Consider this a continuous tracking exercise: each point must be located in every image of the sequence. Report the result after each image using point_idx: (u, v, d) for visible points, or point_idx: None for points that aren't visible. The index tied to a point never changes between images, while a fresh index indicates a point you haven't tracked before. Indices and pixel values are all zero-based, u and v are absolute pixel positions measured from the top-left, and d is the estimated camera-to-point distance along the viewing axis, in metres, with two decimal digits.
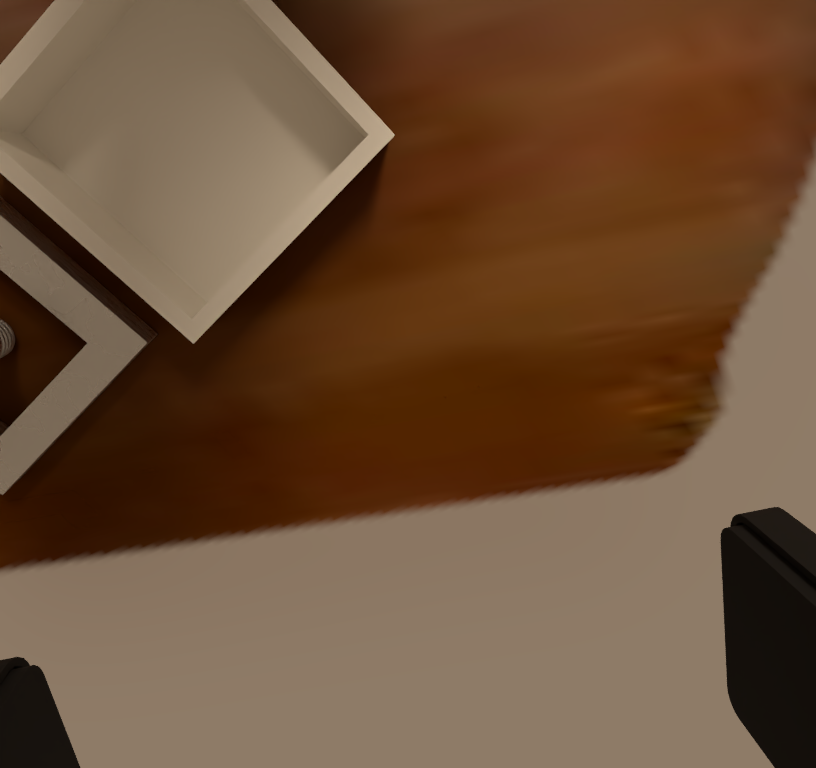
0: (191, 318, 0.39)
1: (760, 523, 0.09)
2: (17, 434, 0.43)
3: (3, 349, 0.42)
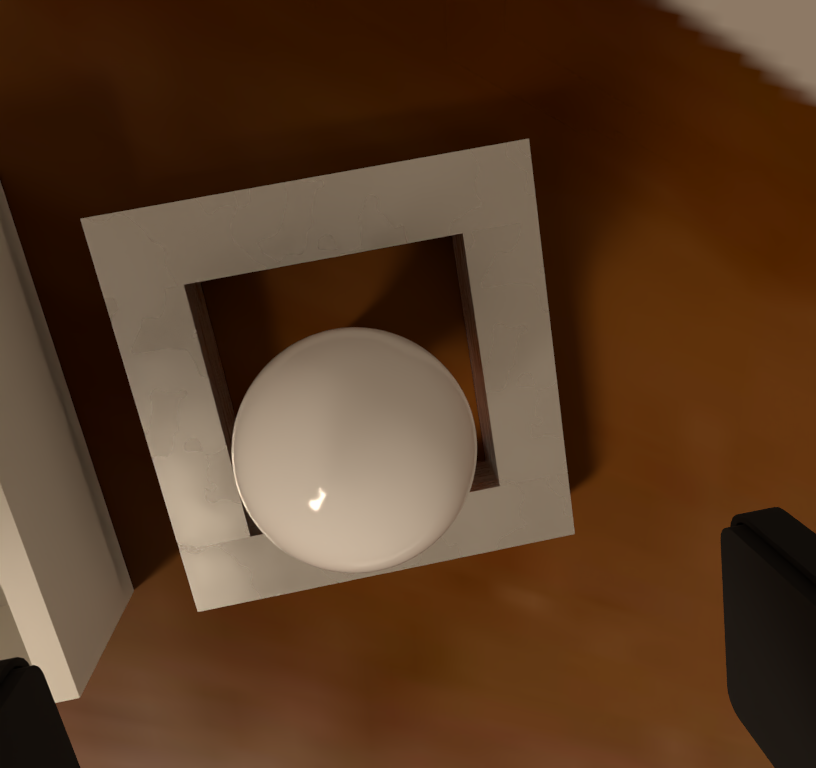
0: None
1: (760, 523, 0.09)
2: (415, 219, 0.22)
3: None
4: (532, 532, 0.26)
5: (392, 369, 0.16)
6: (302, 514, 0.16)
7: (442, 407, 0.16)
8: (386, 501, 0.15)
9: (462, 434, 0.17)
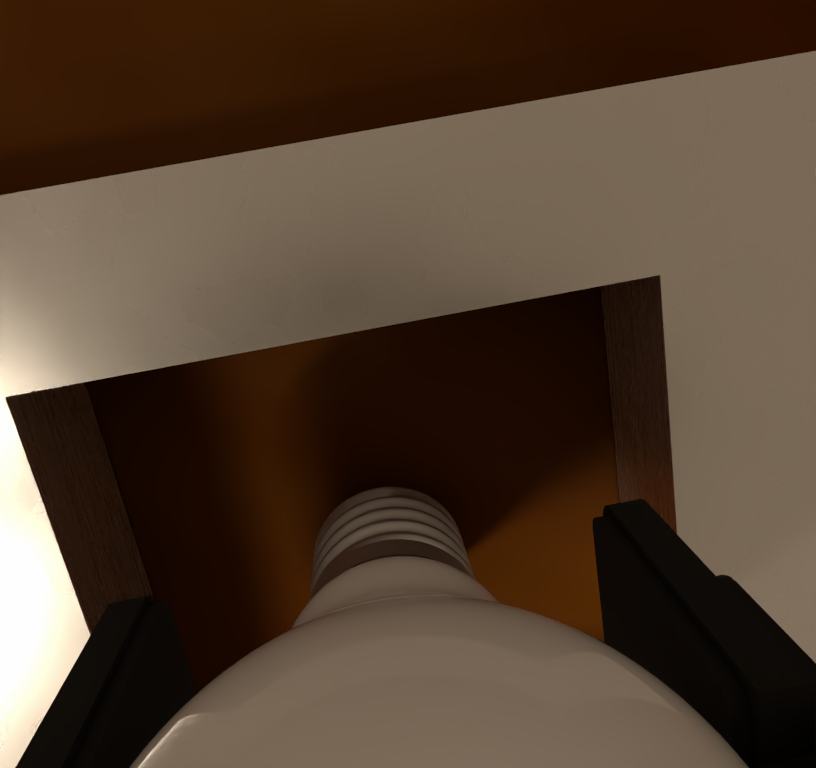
0: None
1: (622, 513, 0.09)
2: (552, 243, 0.09)
3: (347, 540, 0.11)
4: None
5: None
6: None
7: None
8: None
9: None
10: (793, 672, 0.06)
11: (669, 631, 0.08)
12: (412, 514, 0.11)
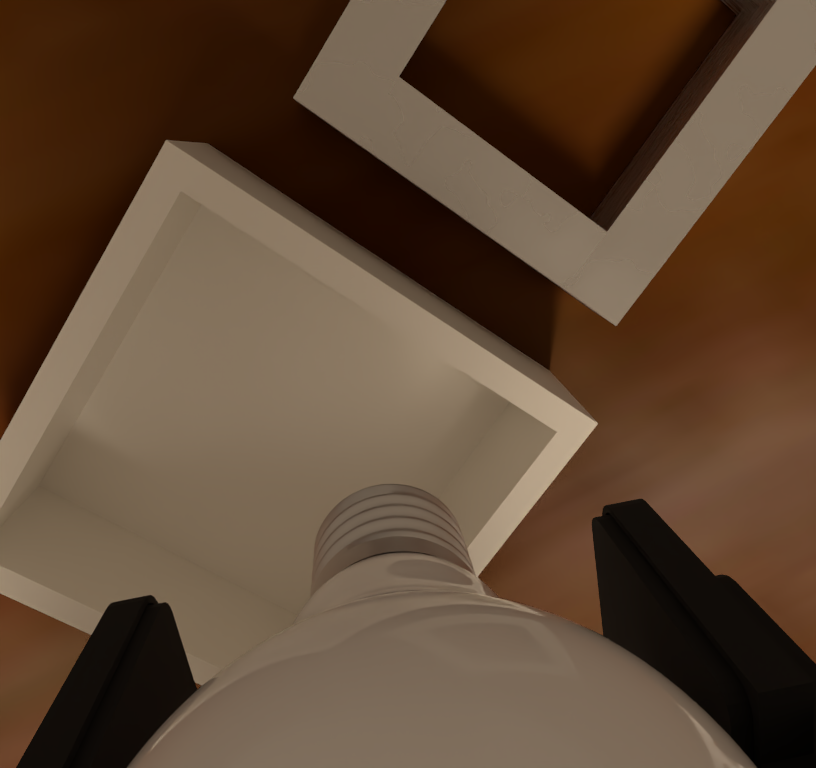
0: (182, 191, 0.20)
1: (621, 513, 0.09)
2: None
3: (348, 537, 0.11)
4: None
5: None
6: None
7: None
8: None
9: None
10: (793, 672, 0.06)
11: (668, 631, 0.08)
12: (413, 511, 0.11)
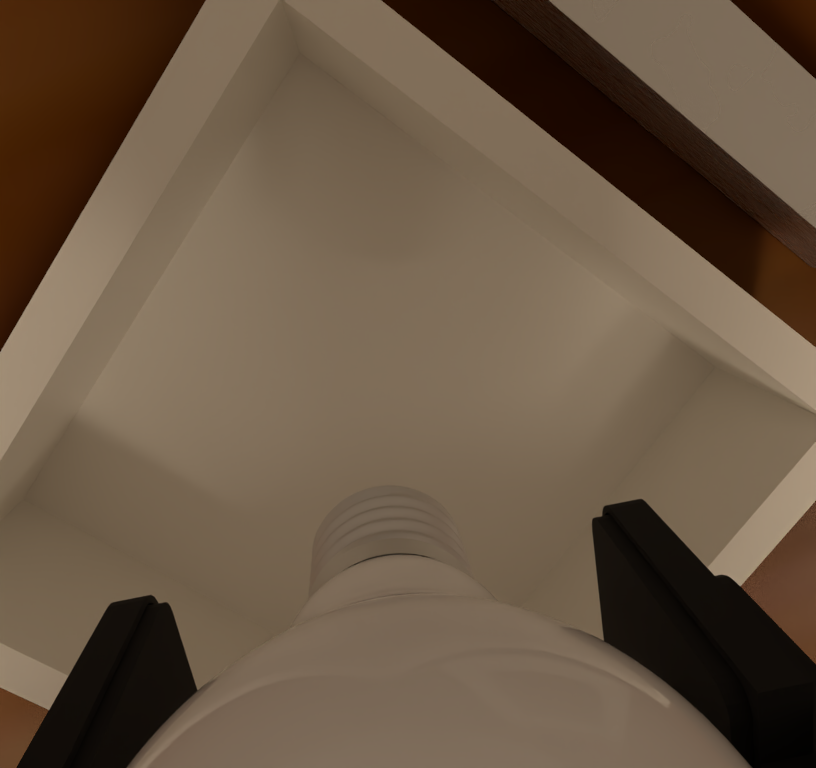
0: None
1: (621, 513, 0.09)
2: None
3: (346, 539, 0.11)
4: None
5: None
6: None
7: None
8: None
9: None
10: (792, 672, 0.06)
11: (668, 631, 0.08)
12: (411, 513, 0.11)
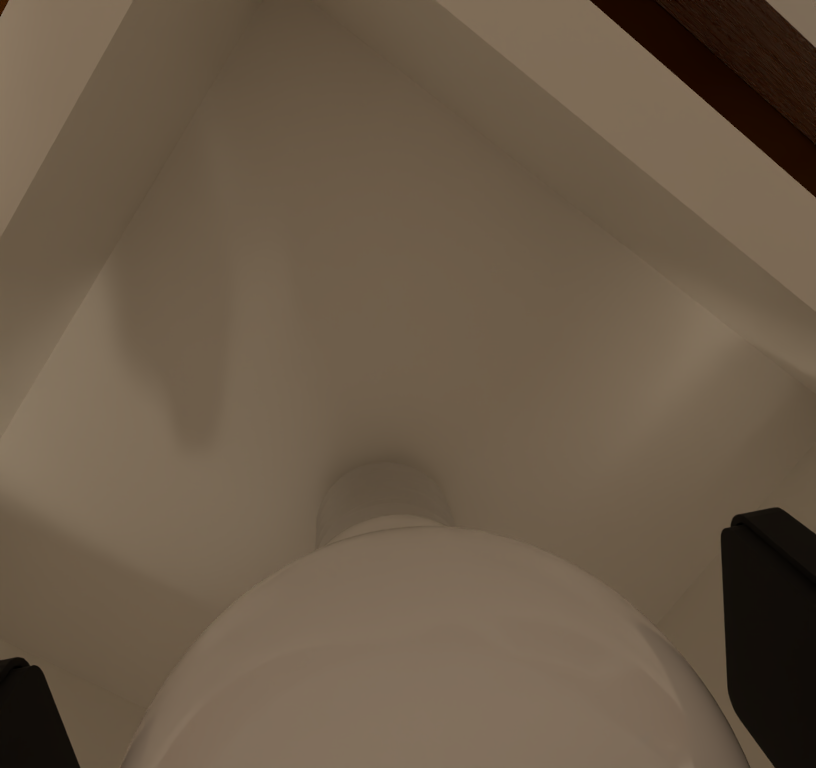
0: None
1: (760, 523, 0.09)
2: None
3: (349, 505, 0.12)
4: None
5: (595, 766, 0.05)
6: None
7: None
8: None
9: None
10: None
11: None
12: (406, 484, 0.13)
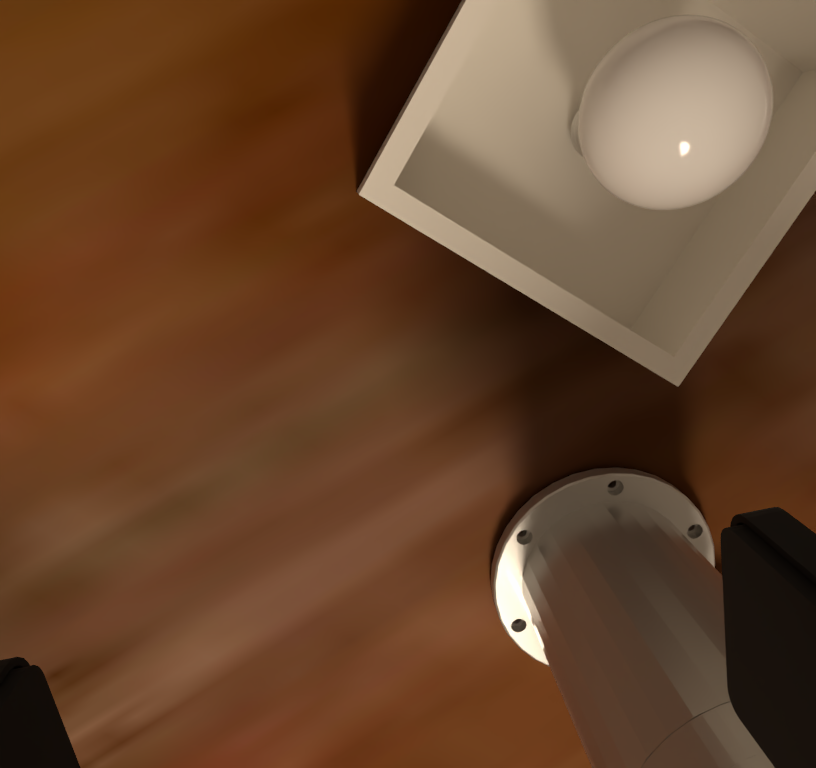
0: None
1: (760, 523, 0.09)
2: None
3: None
4: None
5: (724, 25, 0.22)
6: (671, 126, 0.22)
7: (759, 53, 0.22)
8: (734, 110, 0.21)
9: None
10: None
11: None
12: None
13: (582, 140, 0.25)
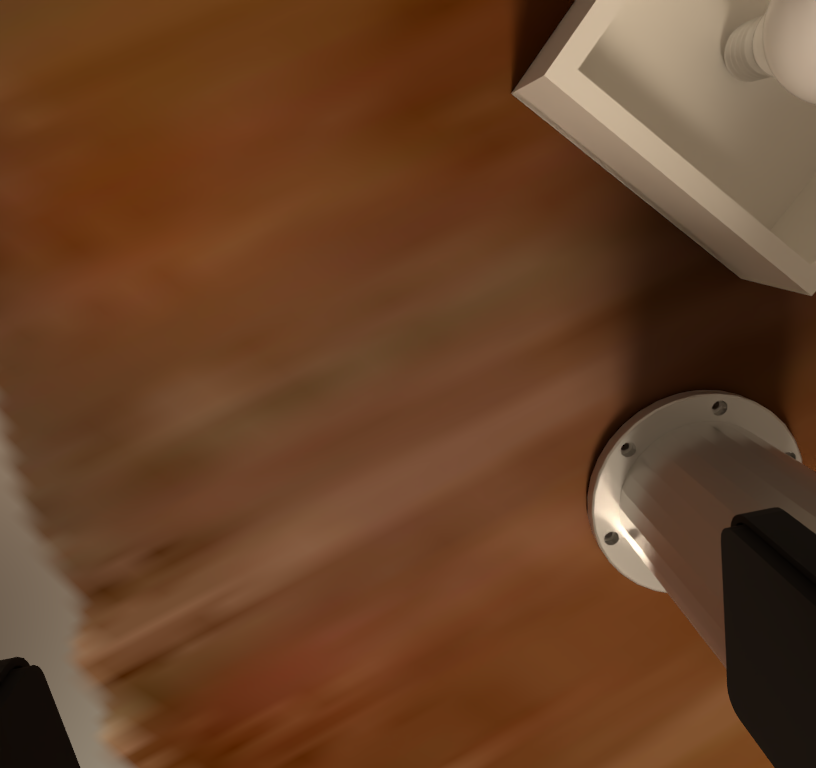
0: None
1: (760, 523, 0.09)
2: None
3: (757, 19, 0.31)
4: None
5: None
6: None
7: None
8: None
9: None
10: None
11: None
12: None
13: (773, 32, 0.26)
